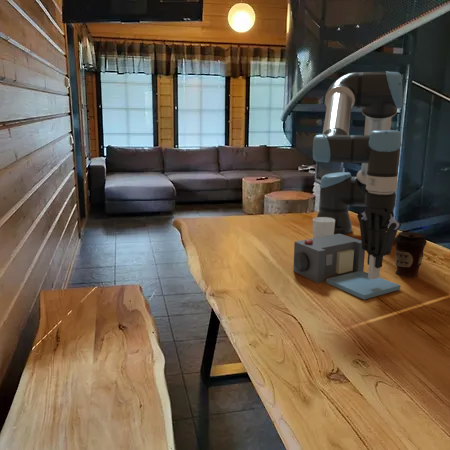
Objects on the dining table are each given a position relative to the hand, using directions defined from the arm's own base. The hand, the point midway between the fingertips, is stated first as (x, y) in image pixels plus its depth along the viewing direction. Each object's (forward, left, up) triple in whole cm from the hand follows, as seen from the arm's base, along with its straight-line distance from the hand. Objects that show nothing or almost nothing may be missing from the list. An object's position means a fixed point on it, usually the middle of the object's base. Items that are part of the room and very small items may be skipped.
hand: (373, 277), depth 124 cm
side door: (-3, -10, -4) cm, 11 cm away
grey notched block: (-6, -16, -4) cm, 18 cm away
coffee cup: (-19, +3, -5) cm, 19 cm away
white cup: (-30, -31, -5) cm, 43 cm away
